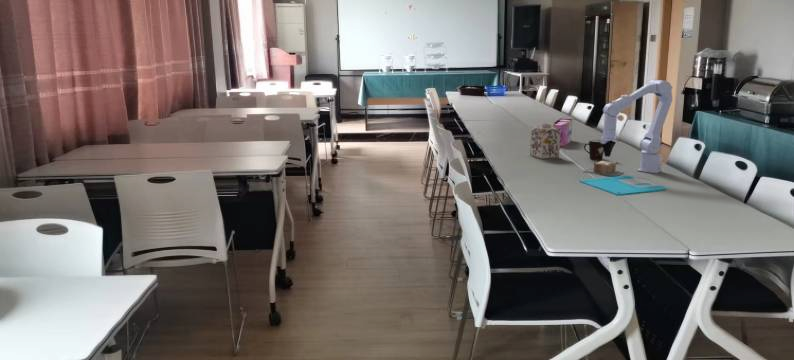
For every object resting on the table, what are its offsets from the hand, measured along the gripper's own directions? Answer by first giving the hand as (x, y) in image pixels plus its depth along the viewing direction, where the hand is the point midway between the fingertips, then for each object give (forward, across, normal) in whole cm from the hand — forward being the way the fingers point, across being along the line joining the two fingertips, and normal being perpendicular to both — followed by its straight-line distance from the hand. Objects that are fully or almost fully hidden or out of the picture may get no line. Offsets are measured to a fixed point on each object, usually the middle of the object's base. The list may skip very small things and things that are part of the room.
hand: (607, 156), depth 300 cm
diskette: (+8, +23, +17) cm, 29 cm away
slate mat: (+7, +4, 0) cm, 8 cm away
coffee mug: (+8, -24, -17) cm, 31 cm away
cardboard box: (+5, -3, 0) cm, 6 cm away
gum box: (+8, -58, -51) cm, 78 cm away
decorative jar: (+8, -14, -40) cm, 43 cm away
